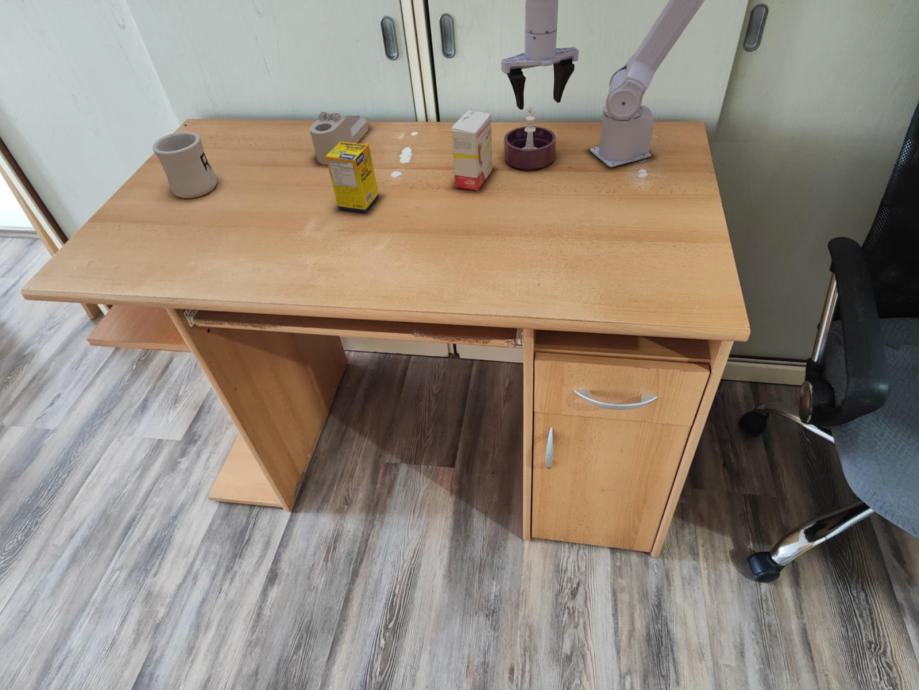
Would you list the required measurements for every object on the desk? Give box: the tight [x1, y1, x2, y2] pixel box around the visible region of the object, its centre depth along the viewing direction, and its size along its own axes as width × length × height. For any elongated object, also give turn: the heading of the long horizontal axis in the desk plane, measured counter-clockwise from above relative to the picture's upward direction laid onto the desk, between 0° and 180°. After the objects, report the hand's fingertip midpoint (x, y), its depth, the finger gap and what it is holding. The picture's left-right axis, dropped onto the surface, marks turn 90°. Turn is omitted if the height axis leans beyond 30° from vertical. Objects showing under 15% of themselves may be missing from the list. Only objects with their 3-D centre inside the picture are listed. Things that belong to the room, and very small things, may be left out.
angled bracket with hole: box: [309, 111, 369, 166], centre depth 126 cm, size 6×18×8 cm, turn 163°
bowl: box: [503, 125, 557, 171], centre depth 117 cm, size 10×10×4 cm
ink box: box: [451, 109, 493, 191], centre depth 111 cm, size 9×5×12 cm, turn 157°
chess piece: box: [522, 106, 536, 149], centre depth 115 cm, size 5×5×10 cm
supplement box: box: [326, 141, 380, 214], centre depth 107 cm, size 6×6×11 cm
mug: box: [152, 131, 218, 199], centre depth 117 cm, size 12×9×10 cm
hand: (538, 104), depth 114 cm, fingers open, 7 cm apart
